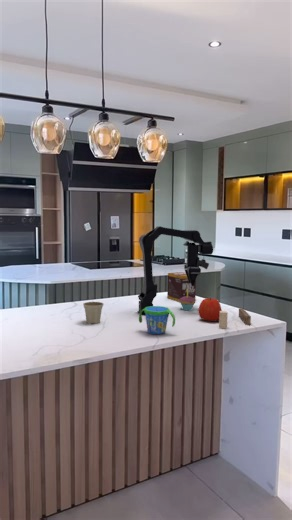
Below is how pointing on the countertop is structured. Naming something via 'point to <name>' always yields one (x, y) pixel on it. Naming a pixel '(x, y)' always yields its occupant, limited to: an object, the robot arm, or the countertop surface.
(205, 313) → the apple
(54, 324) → the countertop surface
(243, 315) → the batten
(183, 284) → the supplement box
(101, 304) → the flower pot
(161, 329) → the snack cup
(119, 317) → the countertop surface
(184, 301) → the cupcake
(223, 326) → the beige upright piece
